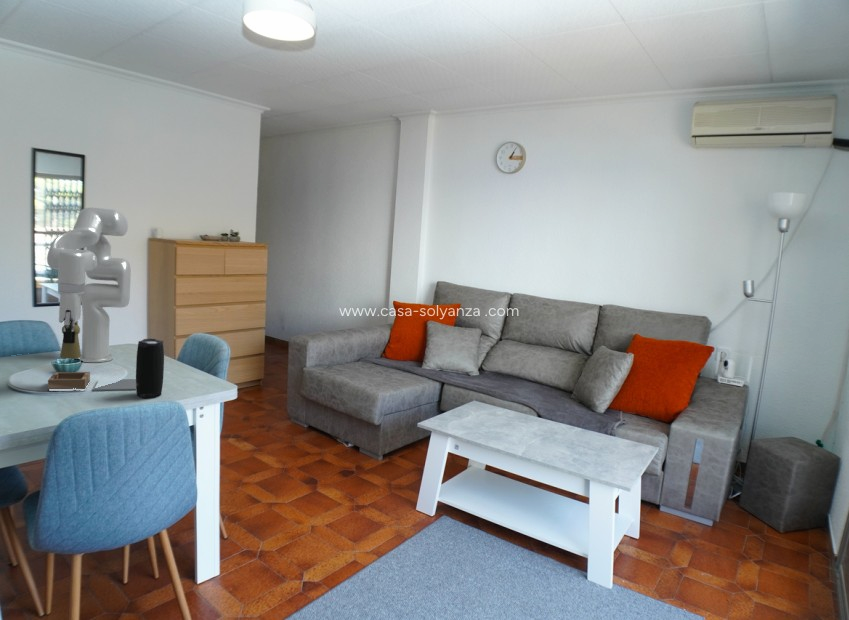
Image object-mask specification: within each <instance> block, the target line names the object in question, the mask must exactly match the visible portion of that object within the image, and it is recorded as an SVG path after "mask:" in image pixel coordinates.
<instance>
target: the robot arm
mask: <svg viewBox="0 0 849 620" xmlns="http://www.w3.org/2000/svg"><path fill="white" fill-rule="evenodd" d="M128 223H129V222H128V220H127V218H126V216H125V214H123V213H122V212H120V210H116V209H110V208H109V209H108V208H101V207H100V208H99V207H86V208H83V209H81V210H80V212H79V213H78V216H77V218H76V221H75V223H74V227H73V229H71V230H68V231H67V232H65V233H63V234H60V235H58V236H57V237H55V238H54V239H53V241H52V242H51V245H50V246H49V248H48V249H49V250H48V253H47V257H46V261H47V262H46V263H47V265H48V267H49V268H50V269H52V270H56V271H57V293H58V294H60V295H59V296H60V299H59V309H58V314H59V315H58V322H59V323H60V324H62V323H63V322H64V323H63V326H64V331H63V333H62V334H63V335H62V336H63V337H62V342H63V343H75V331H74V325H78V326H79V320H80V319H81V315H82V322H81V323H82V325H81V326H82V327H81V330H82V331H81V332H82V333H81V335H82V336H81V337H82V338H81V357H79V358H80V359H81V360H82V361H83V363H105V362H109V361H112V360H113V358H114V356H113V355H112V354H110V350H109V349H110V316H109V314H108V312H107V311H106V310H105V309H104V308H118V309H119V308H120V309H121V308H126V307H128V305H129V303H130V298H131V277H132V274H131V264H130V261H128V260H127V259H125V258H119V257H112V256H111V251H112V246H111V243H110V242H109V240H108V239H107V238H106V236H112V237H113V236H114V237H123V236H125V235H126V233H127V232H128V227H129V226H128V225H129V224H128ZM86 277H87V278H88V279H90V280H94V281H95V280H96V281H110V282H116V284H115V283H110V284H109V283H99V282H98V283H97V282H91V283H86ZM81 313H82V314H81ZM70 324H72V326H71V325H70Z"/></svg>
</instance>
